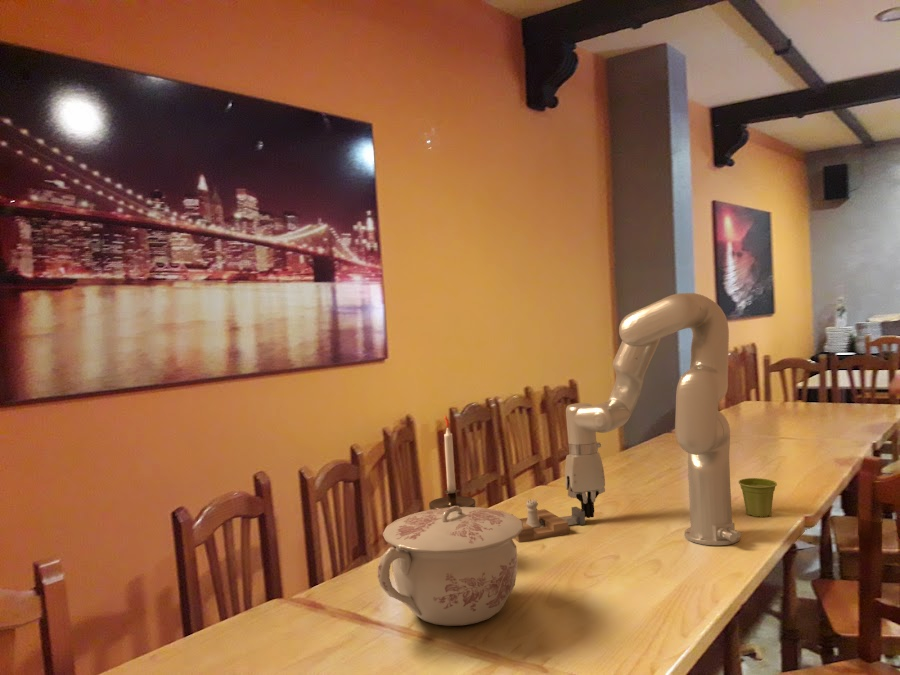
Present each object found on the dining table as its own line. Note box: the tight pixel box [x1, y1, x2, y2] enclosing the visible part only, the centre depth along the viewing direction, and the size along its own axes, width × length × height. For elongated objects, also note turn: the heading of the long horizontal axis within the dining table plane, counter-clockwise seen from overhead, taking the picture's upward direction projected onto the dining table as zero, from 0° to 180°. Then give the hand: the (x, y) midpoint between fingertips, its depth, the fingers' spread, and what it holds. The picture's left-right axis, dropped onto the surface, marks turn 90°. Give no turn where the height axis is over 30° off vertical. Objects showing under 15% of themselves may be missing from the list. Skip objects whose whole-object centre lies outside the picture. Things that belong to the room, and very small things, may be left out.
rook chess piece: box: [525, 498, 541, 529], centre depth 182 cm, size 4×4×8 cm
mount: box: [511, 508, 570, 543], centre depth 182 cm, size 14×14×3 cm
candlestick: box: [428, 414, 477, 510], centre depth 161 cm, size 11×11×35 cm
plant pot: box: [738, 477, 778, 518], centre depth 185 cm, size 9×9×9 cm
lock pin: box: [541, 506, 586, 527], centre depth 185 cm, size 5×11×4 cm, turn 108°
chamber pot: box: [377, 506, 523, 627], centre depth 135 cm, size 28×28×21 cm
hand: (588, 516), depth 187 cm, fingers closed
